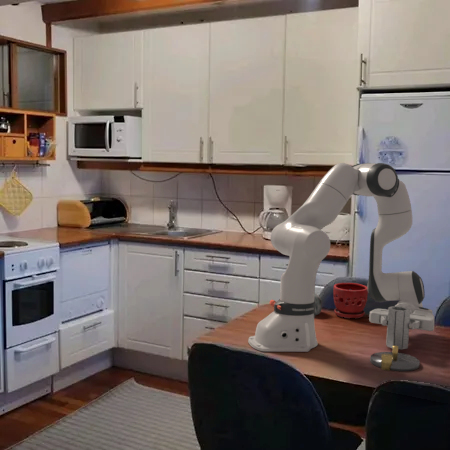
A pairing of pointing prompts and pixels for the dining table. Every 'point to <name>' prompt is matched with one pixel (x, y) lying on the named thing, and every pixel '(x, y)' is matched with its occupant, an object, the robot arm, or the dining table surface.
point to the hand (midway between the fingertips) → (397, 324)
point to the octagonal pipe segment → (398, 327)
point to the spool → (317, 304)
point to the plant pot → (350, 299)
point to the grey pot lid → (394, 360)
